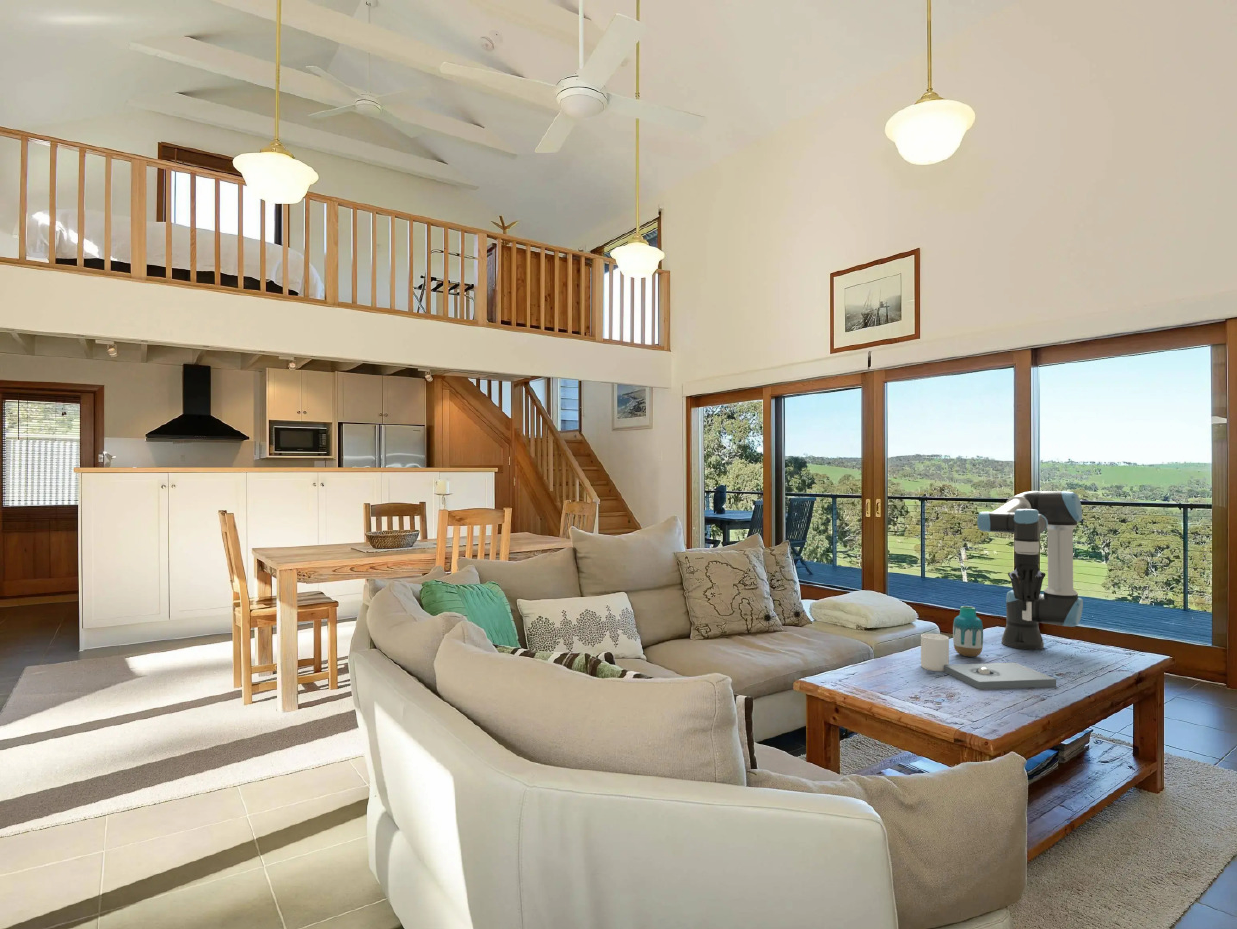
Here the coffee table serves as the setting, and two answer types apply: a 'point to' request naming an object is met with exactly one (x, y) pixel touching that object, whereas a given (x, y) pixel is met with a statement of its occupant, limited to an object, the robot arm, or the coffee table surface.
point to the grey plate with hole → (999, 676)
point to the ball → (984, 671)
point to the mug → (934, 651)
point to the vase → (968, 632)
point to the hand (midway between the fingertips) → (1026, 619)
